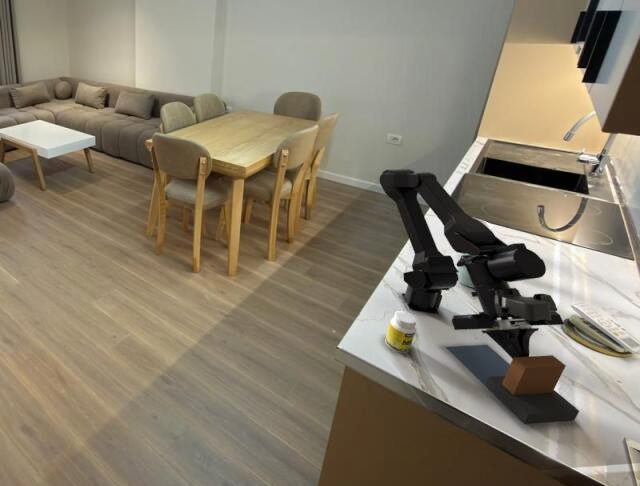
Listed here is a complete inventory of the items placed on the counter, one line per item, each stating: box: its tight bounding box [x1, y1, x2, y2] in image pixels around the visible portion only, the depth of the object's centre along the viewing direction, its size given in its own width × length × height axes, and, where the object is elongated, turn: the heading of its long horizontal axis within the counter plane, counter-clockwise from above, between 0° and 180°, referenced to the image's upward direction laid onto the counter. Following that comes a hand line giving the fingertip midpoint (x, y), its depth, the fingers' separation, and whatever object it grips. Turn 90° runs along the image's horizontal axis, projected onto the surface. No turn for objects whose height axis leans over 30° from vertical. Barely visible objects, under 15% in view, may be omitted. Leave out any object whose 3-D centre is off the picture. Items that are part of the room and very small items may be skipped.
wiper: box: [484, 354, 580, 424], centre depth 75 cm, size 8×10×9 cm
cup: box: [456, 253, 486, 289], centre depth 109 cm, size 8×8×10 cm
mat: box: [445, 344, 576, 425], centre depth 81 cm, size 18×10×1 cm, turn 3°
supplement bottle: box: [384, 310, 417, 354], centre depth 89 cm, size 5×5×8 cm
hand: (525, 367), depth 77 cm, fingers closed, pressing on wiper
